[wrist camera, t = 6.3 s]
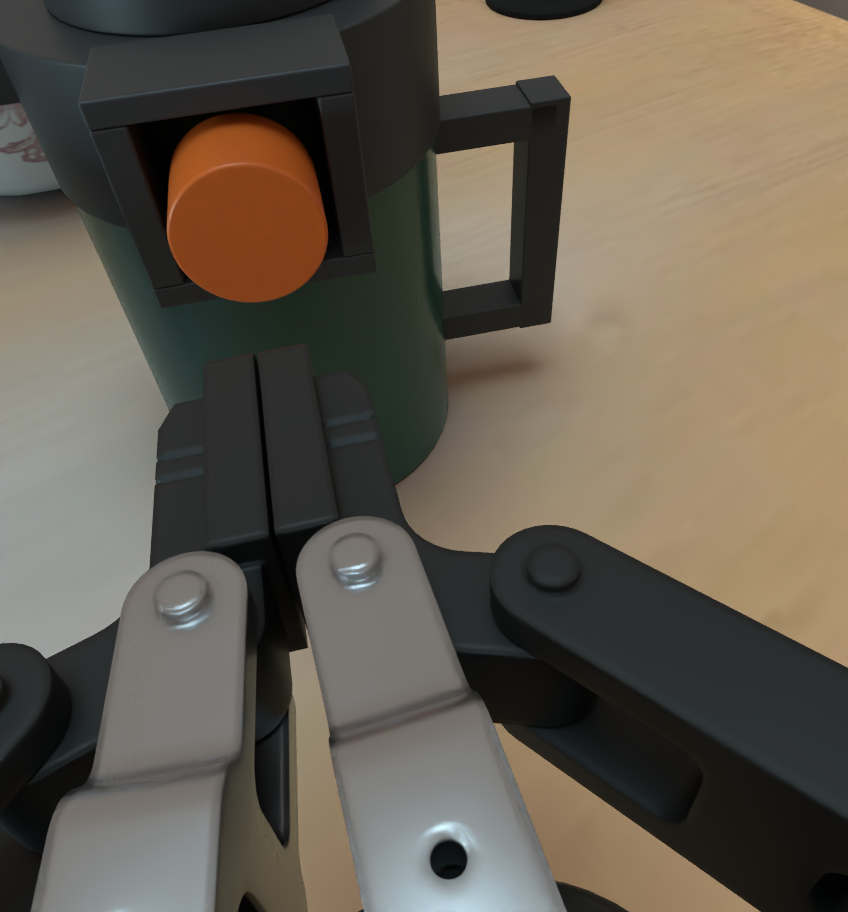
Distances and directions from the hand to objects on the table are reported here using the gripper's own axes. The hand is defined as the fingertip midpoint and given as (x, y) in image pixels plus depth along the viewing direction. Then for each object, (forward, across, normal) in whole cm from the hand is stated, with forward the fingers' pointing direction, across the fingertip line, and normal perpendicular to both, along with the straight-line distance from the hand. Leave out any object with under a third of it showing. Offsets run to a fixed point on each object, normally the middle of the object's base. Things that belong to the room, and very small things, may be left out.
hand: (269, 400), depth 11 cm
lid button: (+8, 0, +2) cm, 8 cm away
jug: (+17, -1, +15) cm, 22 cm away
